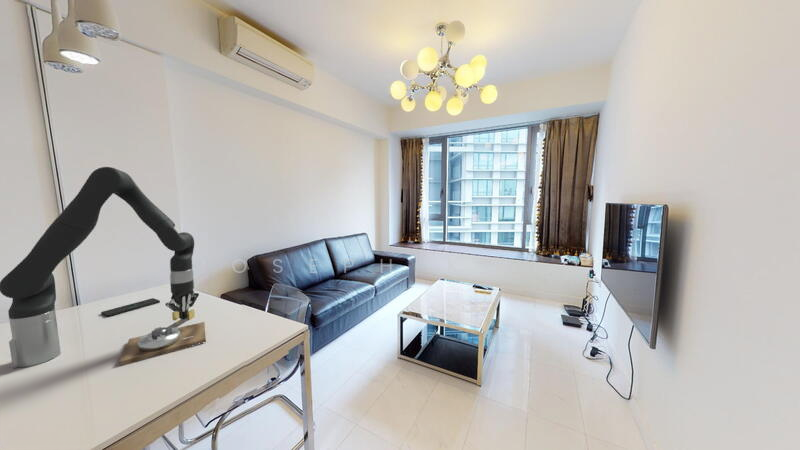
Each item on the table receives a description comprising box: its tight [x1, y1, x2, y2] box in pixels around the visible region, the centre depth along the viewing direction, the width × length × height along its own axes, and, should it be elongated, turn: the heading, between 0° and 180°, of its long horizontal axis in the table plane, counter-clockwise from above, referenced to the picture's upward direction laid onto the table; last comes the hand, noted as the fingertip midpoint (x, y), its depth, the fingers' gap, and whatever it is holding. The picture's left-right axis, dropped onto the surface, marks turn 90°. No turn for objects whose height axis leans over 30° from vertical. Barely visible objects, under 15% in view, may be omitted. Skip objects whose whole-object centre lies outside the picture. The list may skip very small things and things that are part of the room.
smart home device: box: [100, 297, 161, 318], centre depth 133 cm, size 8×2×20 cm
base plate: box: [118, 321, 207, 366], centre depth 103 cm, size 24×18×2 cm
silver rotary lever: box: [138, 309, 196, 351], centre depth 103 cm, size 12×20×7 cm, turn 3°
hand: (183, 318), depth 110 cm, fingers closed
